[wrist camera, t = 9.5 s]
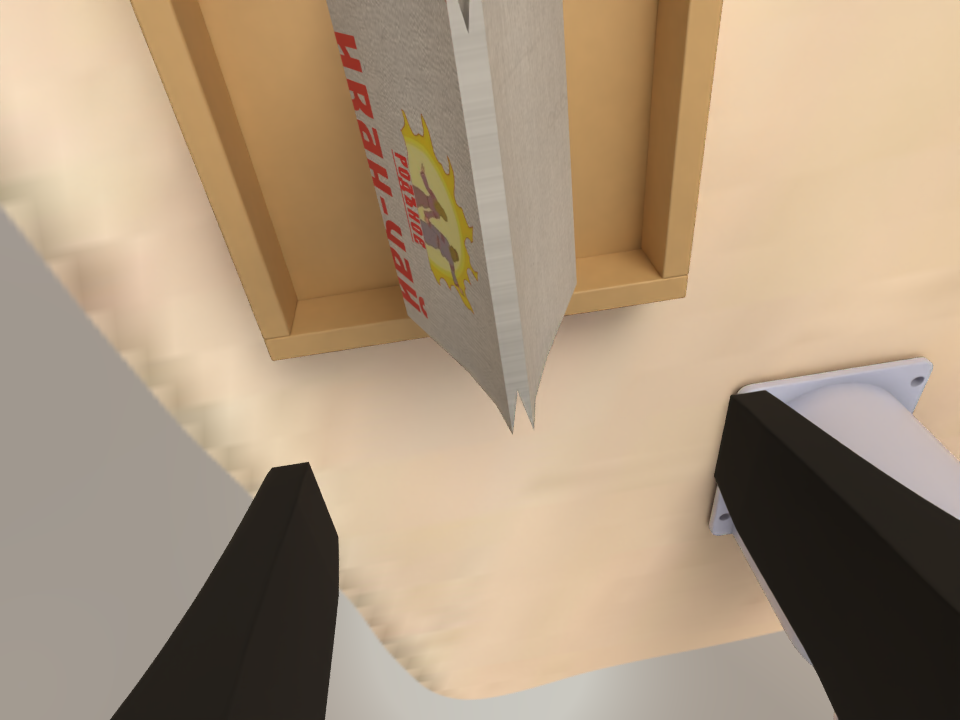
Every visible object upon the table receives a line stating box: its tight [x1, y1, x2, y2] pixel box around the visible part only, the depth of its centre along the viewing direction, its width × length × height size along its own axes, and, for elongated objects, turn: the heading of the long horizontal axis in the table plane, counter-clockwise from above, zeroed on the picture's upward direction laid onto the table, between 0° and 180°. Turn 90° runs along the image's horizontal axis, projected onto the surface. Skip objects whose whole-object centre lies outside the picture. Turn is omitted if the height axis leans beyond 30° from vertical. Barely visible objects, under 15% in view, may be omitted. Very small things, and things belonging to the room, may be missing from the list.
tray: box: [130, 0, 723, 361], centre depth 15 cm, size 14×13×2 cm
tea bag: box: [326, 0, 577, 434], centre depth 12 cm, size 4×7×10 cm, turn 8°
